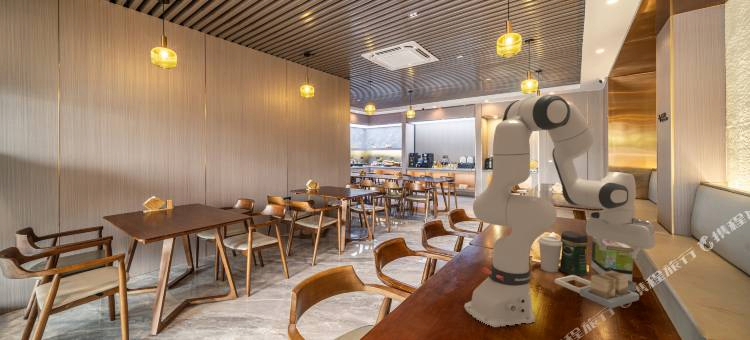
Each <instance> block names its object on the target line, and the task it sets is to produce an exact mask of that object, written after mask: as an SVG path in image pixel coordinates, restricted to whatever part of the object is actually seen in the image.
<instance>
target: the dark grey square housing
mask: <svg viewBox="0 0 750 340" xmlns="http://www.w3.org/2000/svg"><path fill="white" fill-rule="evenodd" d="M628 290H629V291H632V292H634V293H635V292H637V282H634V281H633V280H632V281H629V280H628Z"/></svg>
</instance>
